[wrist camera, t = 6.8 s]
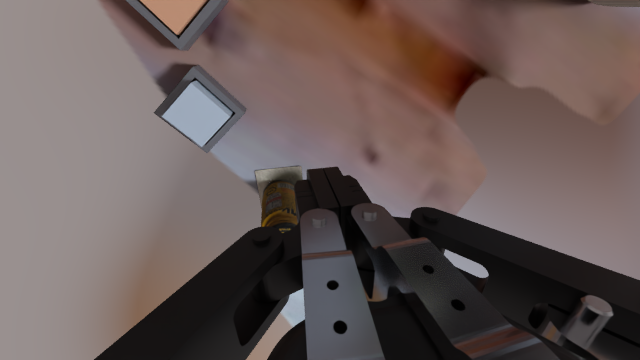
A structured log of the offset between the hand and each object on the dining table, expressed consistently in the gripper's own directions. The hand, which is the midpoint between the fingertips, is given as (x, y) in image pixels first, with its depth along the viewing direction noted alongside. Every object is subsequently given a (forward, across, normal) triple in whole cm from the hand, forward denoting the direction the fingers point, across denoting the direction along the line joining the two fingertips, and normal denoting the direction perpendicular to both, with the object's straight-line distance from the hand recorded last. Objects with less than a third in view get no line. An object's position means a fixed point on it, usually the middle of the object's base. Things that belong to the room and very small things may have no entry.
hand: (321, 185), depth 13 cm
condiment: (+27, +2, +15) cm, 31 cm away
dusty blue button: (+25, +11, +1) cm, 27 cm away
